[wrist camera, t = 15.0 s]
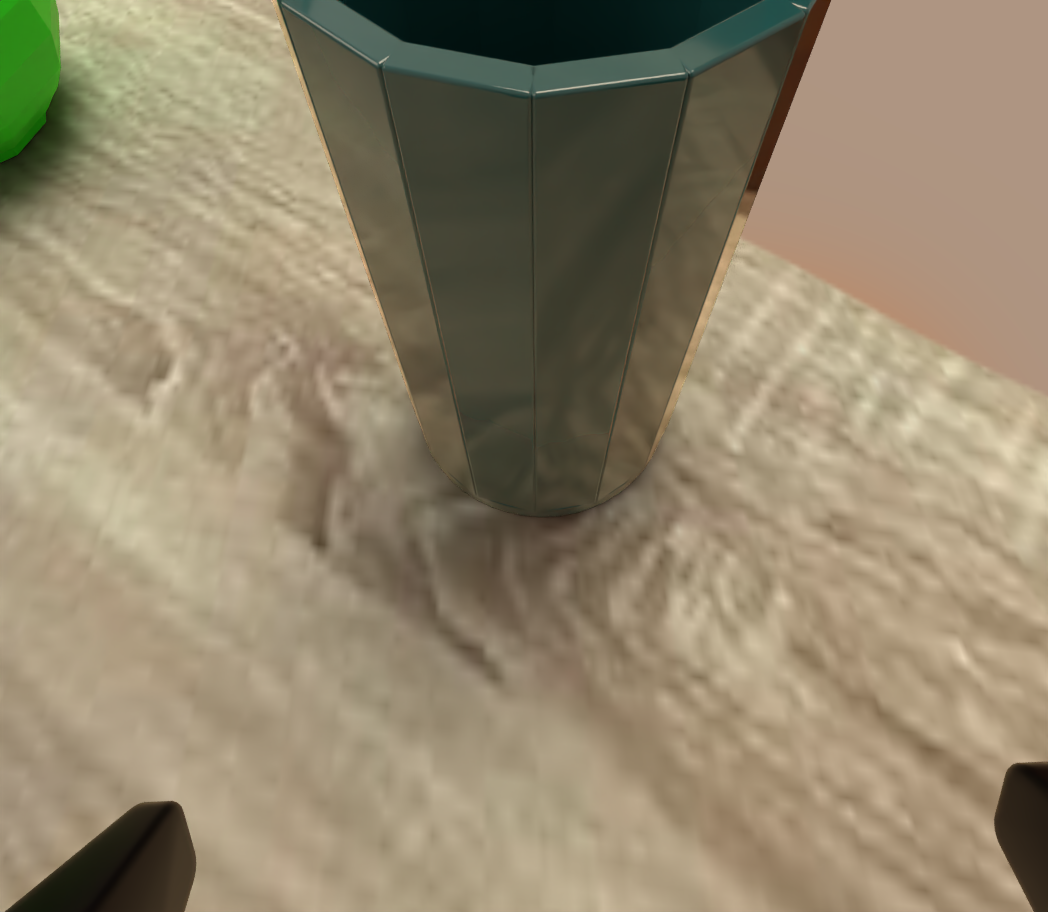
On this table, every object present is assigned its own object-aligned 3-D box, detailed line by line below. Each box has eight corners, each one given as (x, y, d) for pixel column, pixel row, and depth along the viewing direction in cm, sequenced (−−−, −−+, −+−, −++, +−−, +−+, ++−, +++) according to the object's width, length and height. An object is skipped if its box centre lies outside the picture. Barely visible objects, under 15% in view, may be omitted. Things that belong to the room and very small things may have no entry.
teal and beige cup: (471, 559, 18) (349, 179, 6) (388, 344, 20) (195, -198, 9) (709, 464, 19) (987, -18, 7) (600, 271, 21) (674, -306, 10)
